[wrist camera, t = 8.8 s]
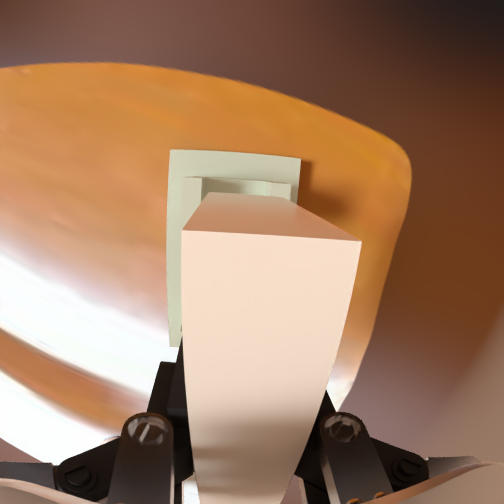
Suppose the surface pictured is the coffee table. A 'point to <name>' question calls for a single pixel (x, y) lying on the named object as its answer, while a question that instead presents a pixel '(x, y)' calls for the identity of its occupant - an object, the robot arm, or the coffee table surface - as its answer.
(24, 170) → the coffee table surface
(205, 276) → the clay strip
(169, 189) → the grey mounting plate
